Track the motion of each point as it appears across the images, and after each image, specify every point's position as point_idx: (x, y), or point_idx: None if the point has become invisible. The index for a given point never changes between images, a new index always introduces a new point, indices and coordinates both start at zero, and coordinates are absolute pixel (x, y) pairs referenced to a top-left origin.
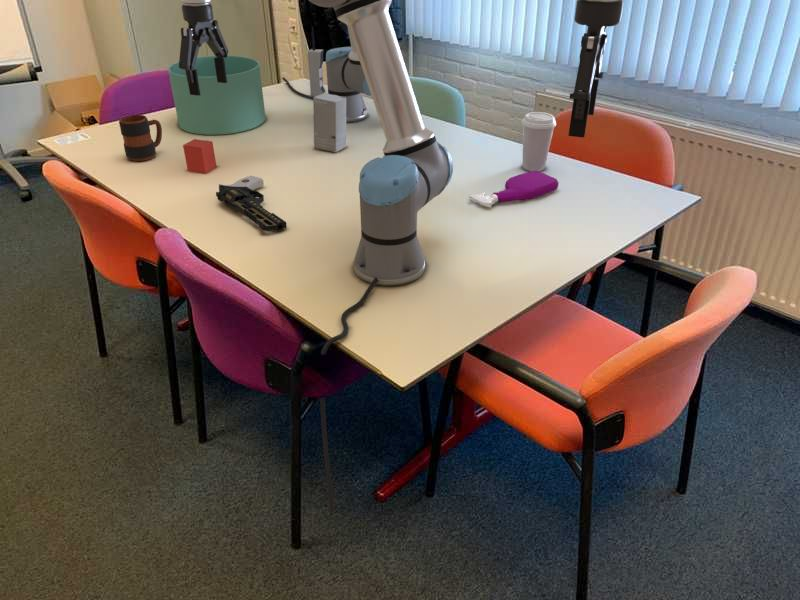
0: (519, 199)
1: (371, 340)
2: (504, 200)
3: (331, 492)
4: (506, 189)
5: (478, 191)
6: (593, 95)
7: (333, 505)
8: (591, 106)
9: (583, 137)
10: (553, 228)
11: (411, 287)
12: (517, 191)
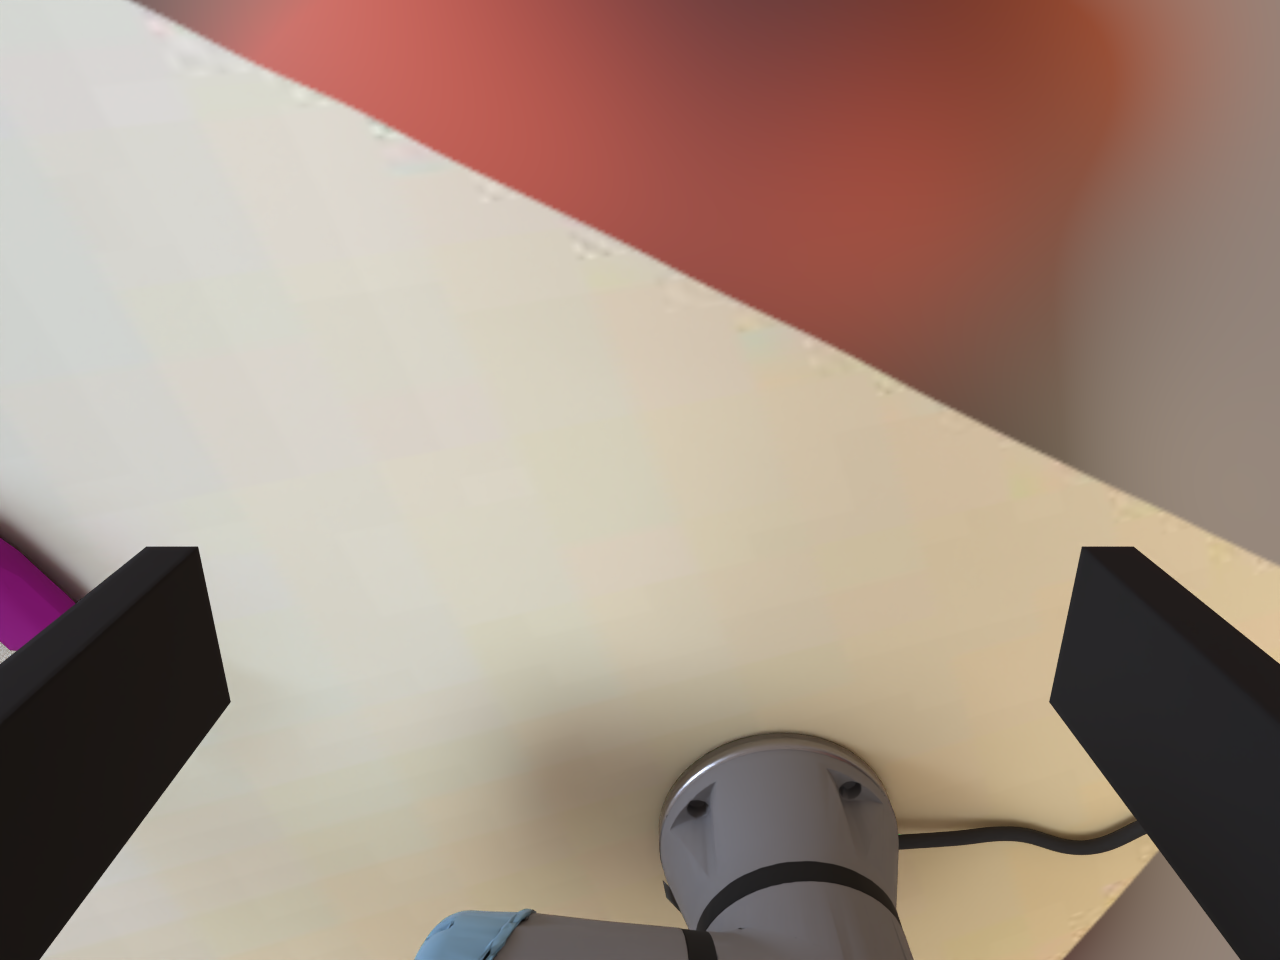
0: (38, 570)
1: None
2: None
3: None
4: (8, 645)
5: None
6: (41, 739)
7: None
8: (143, 638)
9: (1136, 553)
10: (213, 380)
11: (869, 737)
12: (2, 599)
